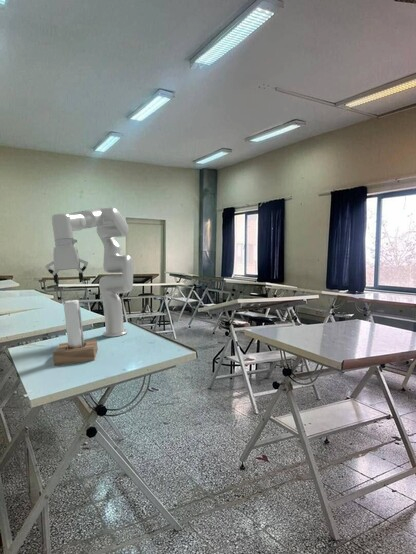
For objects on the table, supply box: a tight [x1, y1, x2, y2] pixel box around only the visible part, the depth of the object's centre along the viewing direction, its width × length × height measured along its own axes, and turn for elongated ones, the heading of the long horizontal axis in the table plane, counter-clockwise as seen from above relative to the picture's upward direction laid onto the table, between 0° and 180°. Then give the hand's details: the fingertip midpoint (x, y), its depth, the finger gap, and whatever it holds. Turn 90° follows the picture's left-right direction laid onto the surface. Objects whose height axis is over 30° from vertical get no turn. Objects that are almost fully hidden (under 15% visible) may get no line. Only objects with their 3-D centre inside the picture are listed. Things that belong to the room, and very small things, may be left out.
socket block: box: [52, 338, 99, 366], centre depth 164 cm, size 16×16×5 cm
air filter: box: [63, 299, 85, 349], centre depth 163 cm, size 6×6×25 cm
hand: (69, 283), depth 161 cm, fingers open, 9 cm apart
